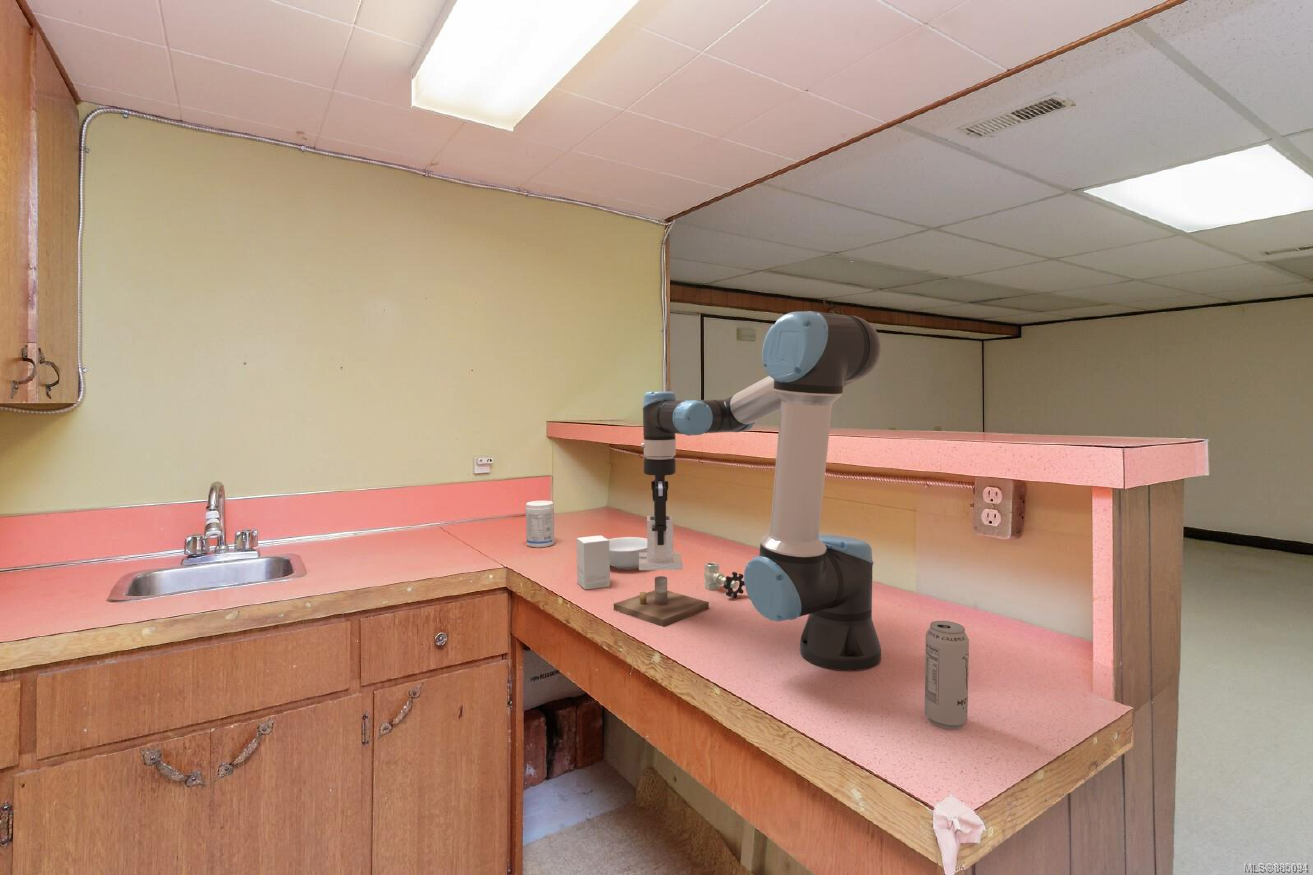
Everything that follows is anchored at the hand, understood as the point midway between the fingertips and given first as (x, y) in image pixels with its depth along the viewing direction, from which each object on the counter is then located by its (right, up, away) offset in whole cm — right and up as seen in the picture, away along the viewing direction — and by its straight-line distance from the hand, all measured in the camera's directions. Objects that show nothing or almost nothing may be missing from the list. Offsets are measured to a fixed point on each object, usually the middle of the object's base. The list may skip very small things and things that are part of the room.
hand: (660, 554), depth 150 cm
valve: (+16, -13, +14) cm, 24 cm away
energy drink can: (+44, -16, -52) cm, 70 cm away
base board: (0, -13, +1) cm, 13 cm away
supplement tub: (-41, -10, +68) cm, 80 cm away
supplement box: (-18, -12, +21) cm, 30 cm away
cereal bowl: (-10, -11, +39) cm, 42 cm away
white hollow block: (0, -2, 0) cm, 2 cm away
